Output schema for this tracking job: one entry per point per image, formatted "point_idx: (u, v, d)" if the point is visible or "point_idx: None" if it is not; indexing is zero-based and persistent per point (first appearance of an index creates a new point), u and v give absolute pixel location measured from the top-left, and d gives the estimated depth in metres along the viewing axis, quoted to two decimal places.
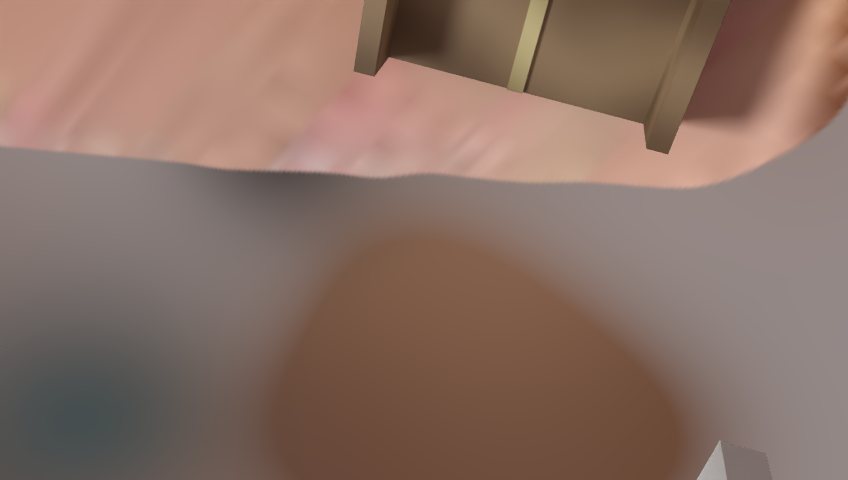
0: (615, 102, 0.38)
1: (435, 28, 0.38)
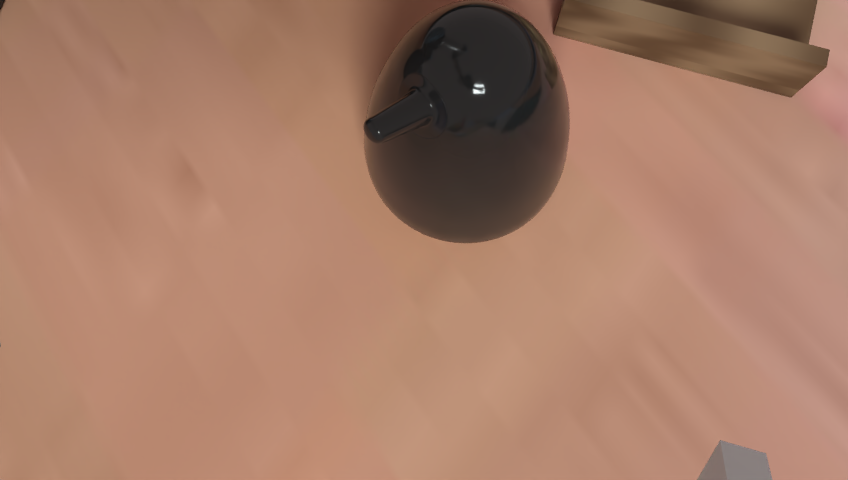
0: None
1: (774, 33, 0.44)
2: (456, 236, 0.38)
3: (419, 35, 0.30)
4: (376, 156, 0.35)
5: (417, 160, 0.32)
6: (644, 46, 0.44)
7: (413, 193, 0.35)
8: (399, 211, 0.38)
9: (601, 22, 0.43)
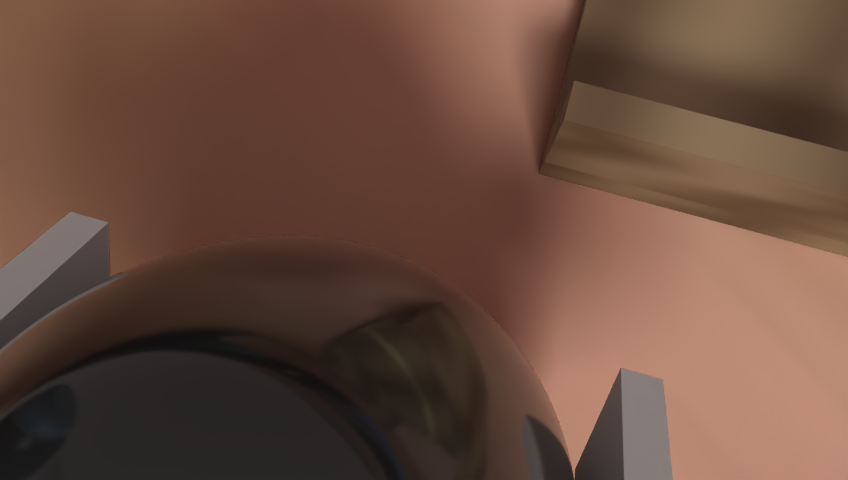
0: None
1: None
2: None
3: None
4: None
5: None
6: (736, 209, 0.20)
7: None
8: None
9: (644, 165, 0.19)
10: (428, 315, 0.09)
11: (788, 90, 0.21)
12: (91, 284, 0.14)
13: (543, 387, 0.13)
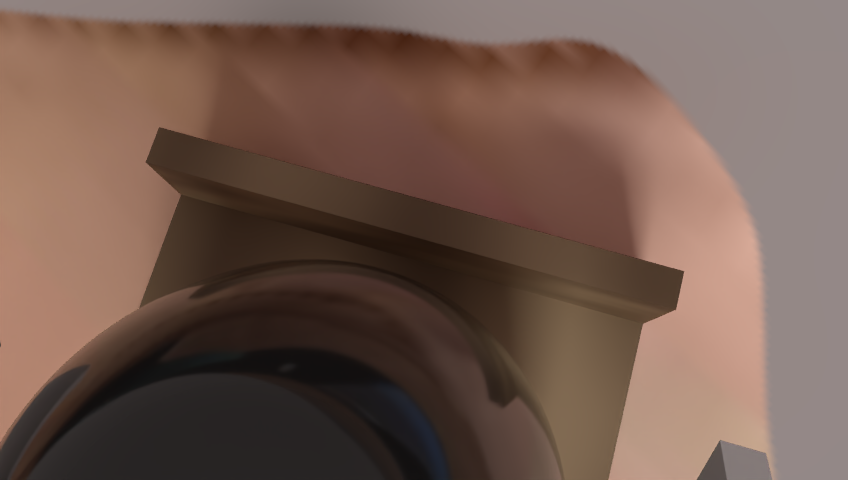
0: (606, 372, 0.22)
1: None
2: None
3: None
4: None
5: None
6: None
7: None
8: None
9: None
10: (431, 337, 0.10)
11: None
12: None
13: (536, 396, 0.14)
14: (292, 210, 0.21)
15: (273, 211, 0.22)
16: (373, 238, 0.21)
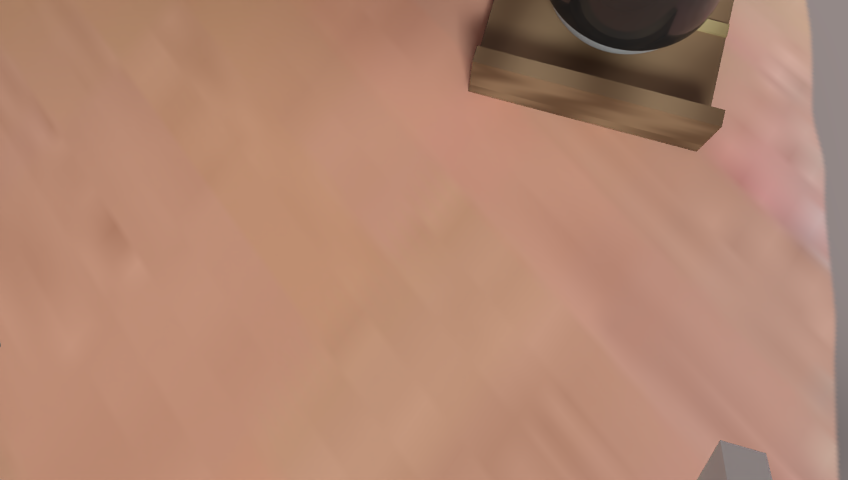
0: None
1: (679, 90, 0.46)
2: (635, 39, 0.41)
3: None
4: None
5: None
6: (553, 104, 0.45)
7: None
8: (582, 16, 0.41)
9: (509, 82, 0.44)
10: None
11: (581, 52, 0.46)
12: None
13: None
14: None
15: None
16: None
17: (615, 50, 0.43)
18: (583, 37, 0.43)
